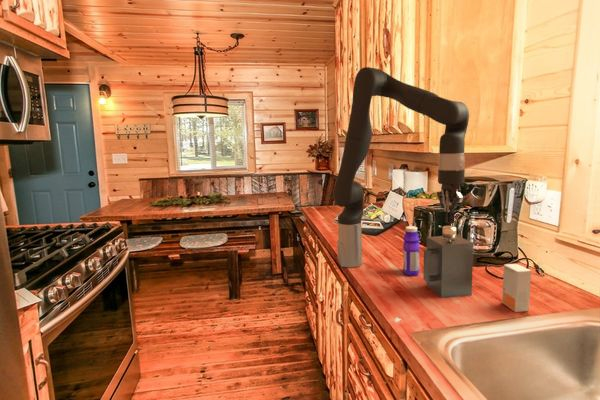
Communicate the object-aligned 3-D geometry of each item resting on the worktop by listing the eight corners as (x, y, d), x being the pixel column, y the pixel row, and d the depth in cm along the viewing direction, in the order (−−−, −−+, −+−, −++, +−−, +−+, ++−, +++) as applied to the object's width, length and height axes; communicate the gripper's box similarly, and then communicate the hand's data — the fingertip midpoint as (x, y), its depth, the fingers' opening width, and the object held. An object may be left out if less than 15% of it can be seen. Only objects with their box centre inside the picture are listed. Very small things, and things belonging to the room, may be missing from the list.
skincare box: (501, 303, 106) (503, 264, 104) (515, 302, 106) (517, 263, 104) (515, 312, 100) (517, 271, 98) (529, 311, 100) (532, 270, 98)
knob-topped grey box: (432, 298, 110) (432, 246, 108) (417, 286, 120) (418, 237, 118) (471, 295, 112) (473, 242, 109) (454, 282, 122) (455, 234, 119)
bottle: (420, 277, 128) (420, 229, 126) (403, 276, 130) (404, 229, 127) (418, 269, 135) (418, 224, 133) (402, 269, 137) (402, 224, 134)
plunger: (442, 291, 112) (444, 231, 109) (430, 281, 120) (431, 225, 117) (466, 289, 113) (468, 229, 110) (453, 279, 120) (454, 223, 117)
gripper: (429, 167, 116) (428, 219, 119) (451, 170, 103) (449, 228, 106) (451, 166, 117) (449, 218, 120) (475, 169, 104) (473, 227, 107)
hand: (449, 223), depth 113 cm, fingers closed
